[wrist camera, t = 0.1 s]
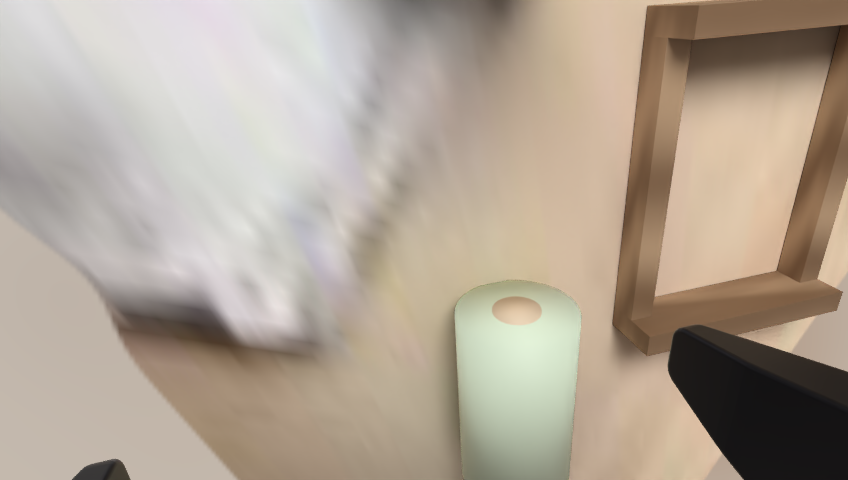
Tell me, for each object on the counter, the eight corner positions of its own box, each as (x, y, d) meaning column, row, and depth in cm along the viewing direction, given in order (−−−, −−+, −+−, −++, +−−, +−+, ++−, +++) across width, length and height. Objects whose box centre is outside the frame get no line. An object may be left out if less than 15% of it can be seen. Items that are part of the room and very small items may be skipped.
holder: (788, 284, 31) (836, 310, 28) (612, 324, 29) (647, 356, 26) (870, -13, 24) (943, -16, 21) (647, 5, 22) (699, 5, 19)
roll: (538, 420, 30) (589, 500, 25) (448, 443, 29) (483, 532, 24) (545, 270, 26) (607, 331, 21) (439, 290, 25) (479, 359, 20)
